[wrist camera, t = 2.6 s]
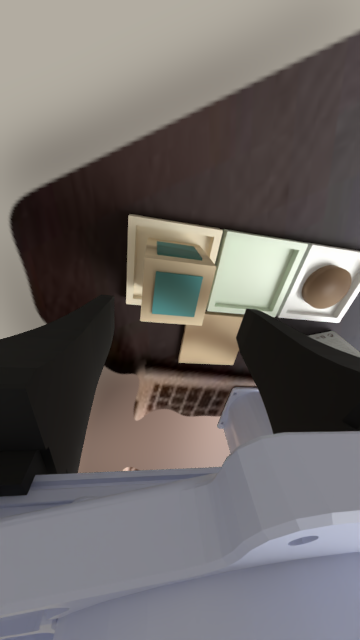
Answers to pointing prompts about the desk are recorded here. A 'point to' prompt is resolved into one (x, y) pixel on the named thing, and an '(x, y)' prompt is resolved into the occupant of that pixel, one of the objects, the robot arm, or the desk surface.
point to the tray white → (312, 260)
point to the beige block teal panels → (175, 283)
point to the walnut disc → (326, 286)
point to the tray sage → (253, 272)
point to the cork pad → (211, 340)
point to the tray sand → (168, 231)
